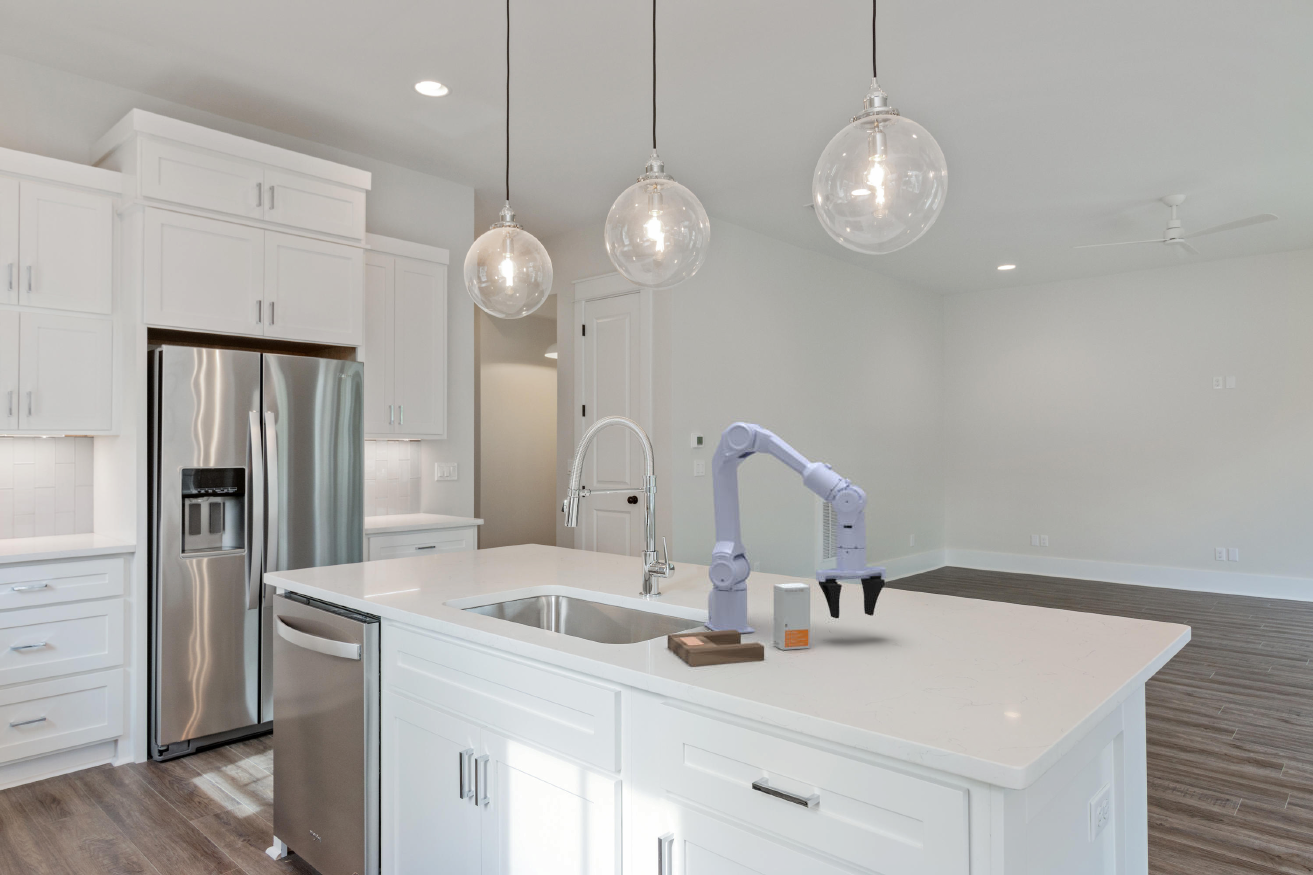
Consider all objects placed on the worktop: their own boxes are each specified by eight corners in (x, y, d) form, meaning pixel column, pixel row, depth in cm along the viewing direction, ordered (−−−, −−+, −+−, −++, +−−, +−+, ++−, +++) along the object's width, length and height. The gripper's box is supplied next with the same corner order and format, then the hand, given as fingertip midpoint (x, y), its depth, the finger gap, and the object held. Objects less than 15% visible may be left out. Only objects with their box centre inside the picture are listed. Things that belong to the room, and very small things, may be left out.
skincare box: (782, 651, 148) (781, 587, 148) (773, 645, 152) (772, 583, 152) (811, 648, 149) (810, 585, 150) (801, 643, 154) (801, 582, 154)
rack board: (667, 647, 151) (667, 633, 151) (735, 642, 155) (734, 628, 155) (691, 666, 137) (691, 651, 137) (764, 660, 141) (764, 645, 141)
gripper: (828, 551, 149) (829, 622, 148) (894, 547, 153) (895, 617, 153) (810, 546, 156) (811, 615, 155) (874, 543, 160) (875, 610, 159)
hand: (852, 615), depth 154 cm, fingers open, 7 cm apart
